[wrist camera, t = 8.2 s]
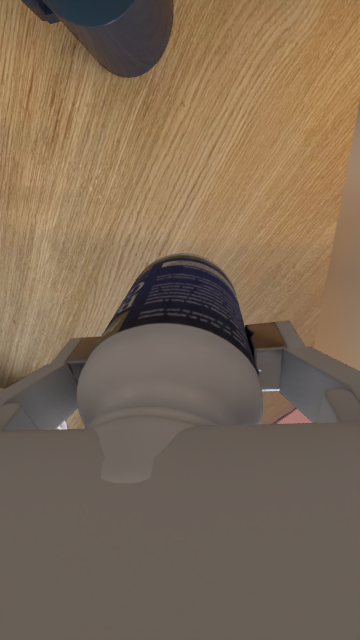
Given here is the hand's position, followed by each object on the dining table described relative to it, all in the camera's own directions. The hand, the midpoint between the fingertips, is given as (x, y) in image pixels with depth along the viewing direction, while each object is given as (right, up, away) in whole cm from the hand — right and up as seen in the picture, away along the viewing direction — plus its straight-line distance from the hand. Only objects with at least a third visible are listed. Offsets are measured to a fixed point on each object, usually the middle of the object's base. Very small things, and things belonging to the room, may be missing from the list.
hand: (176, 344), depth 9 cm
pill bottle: (0, +2, +4) cm, 4 cm away
